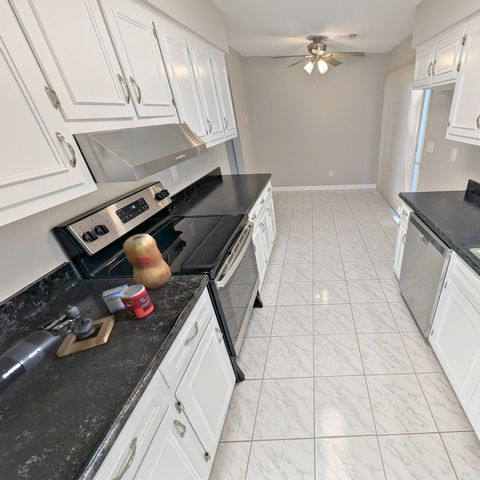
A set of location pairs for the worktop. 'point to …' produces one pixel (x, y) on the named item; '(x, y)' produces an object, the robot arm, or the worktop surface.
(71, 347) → the wooden frame
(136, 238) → the butternut squash
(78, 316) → the robot arm
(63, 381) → the worktop surface
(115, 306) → the medicine box
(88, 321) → the grey tall rounded piece
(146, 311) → the canned food
